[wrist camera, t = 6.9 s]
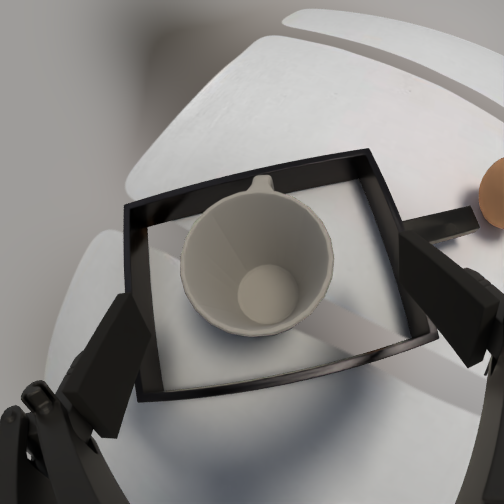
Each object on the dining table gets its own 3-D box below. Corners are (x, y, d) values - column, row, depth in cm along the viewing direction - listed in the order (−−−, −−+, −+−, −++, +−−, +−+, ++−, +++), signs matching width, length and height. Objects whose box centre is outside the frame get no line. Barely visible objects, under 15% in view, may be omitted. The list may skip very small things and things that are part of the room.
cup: (214, 344, 22) (170, 331, 14) (225, 220, 25) (195, 156, 17) (319, 347, 21) (335, 338, 13) (318, 220, 24) (327, 152, 16)
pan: (158, 398, 21) (137, 402, 17) (141, 223, 26) (123, 204, 23) (485, 315, 19) (509, 306, 16) (425, 162, 25) (436, 139, 22)
